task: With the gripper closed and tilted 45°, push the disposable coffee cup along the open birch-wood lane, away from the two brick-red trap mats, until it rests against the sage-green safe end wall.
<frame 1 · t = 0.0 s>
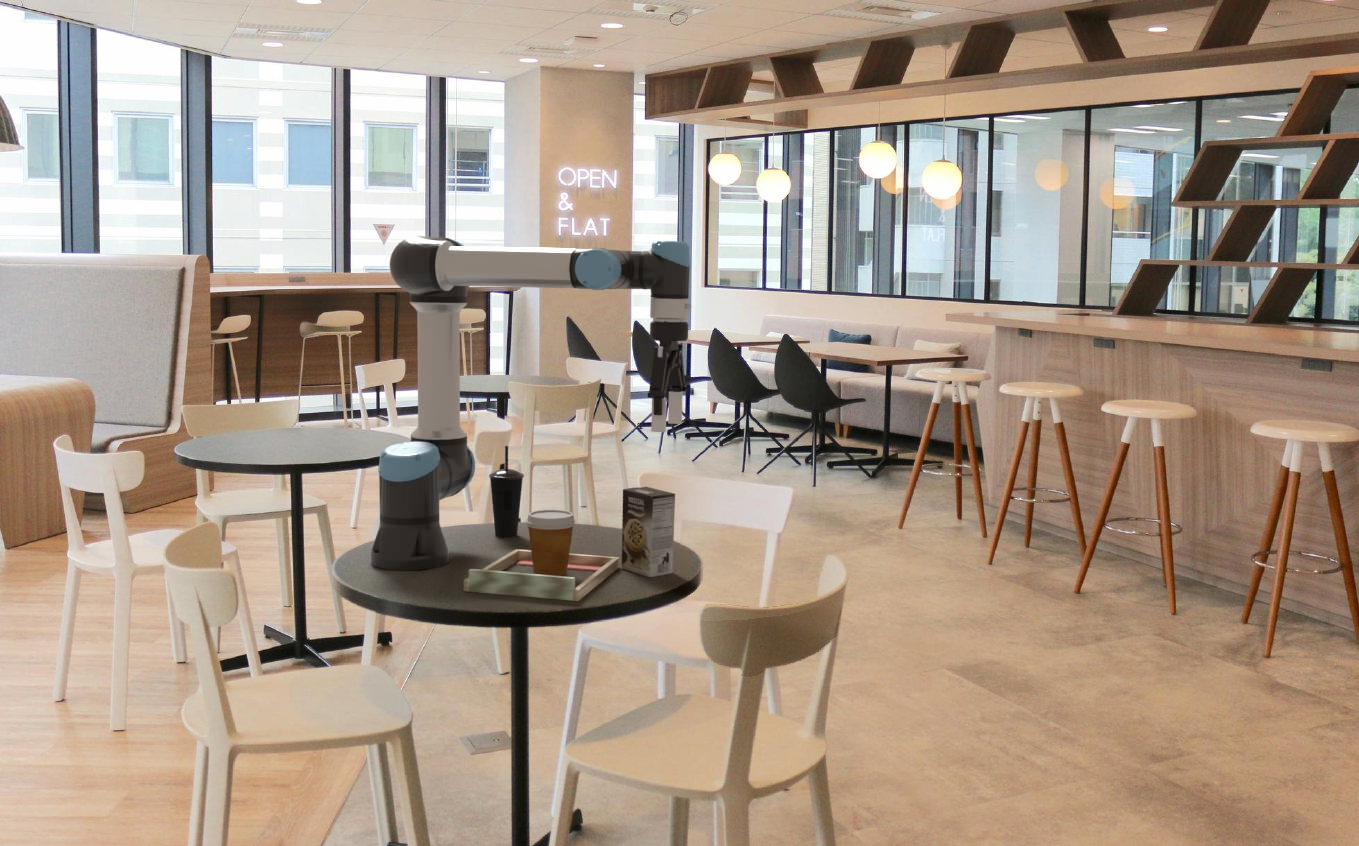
hand: (667, 427, 235), 28 cm above the table, tool pointing down, fingers open, 13 cm apart
coffee box: (647, 571, 234), on the table
disposable coffee cup: (550, 575, 229), resting in light wooden rectangular frame
trap mats: (562, 565, 236), resting in light wooden rectangular frame
drinking cup: (506, 536, 263), on the table
light wooden rectangular frame: (544, 578, 226), on the table
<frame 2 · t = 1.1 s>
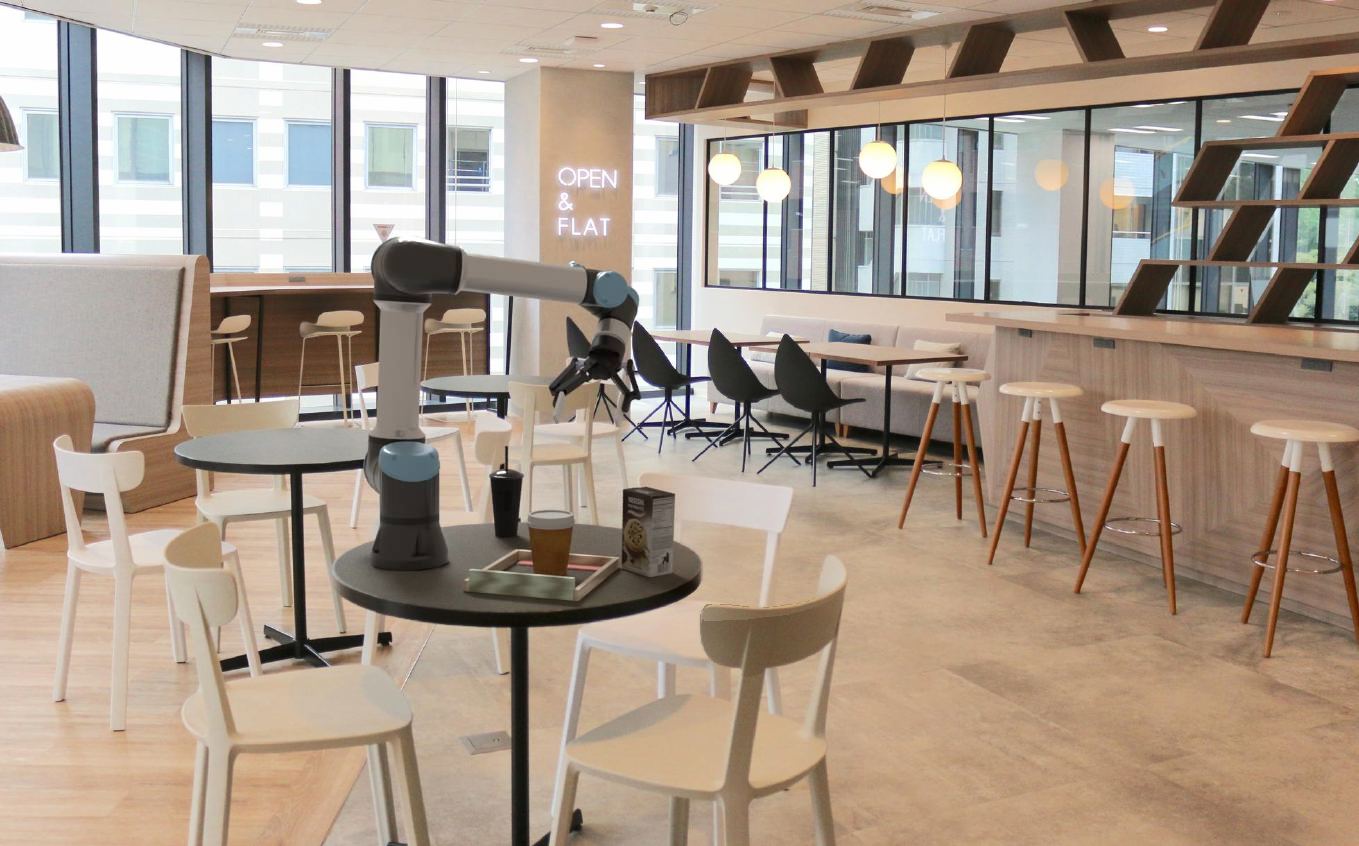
hand: (585, 421, 245), 28 cm above the table, tool tilted 45°, fingers open, 13 cm apart
nothing on the table moved.
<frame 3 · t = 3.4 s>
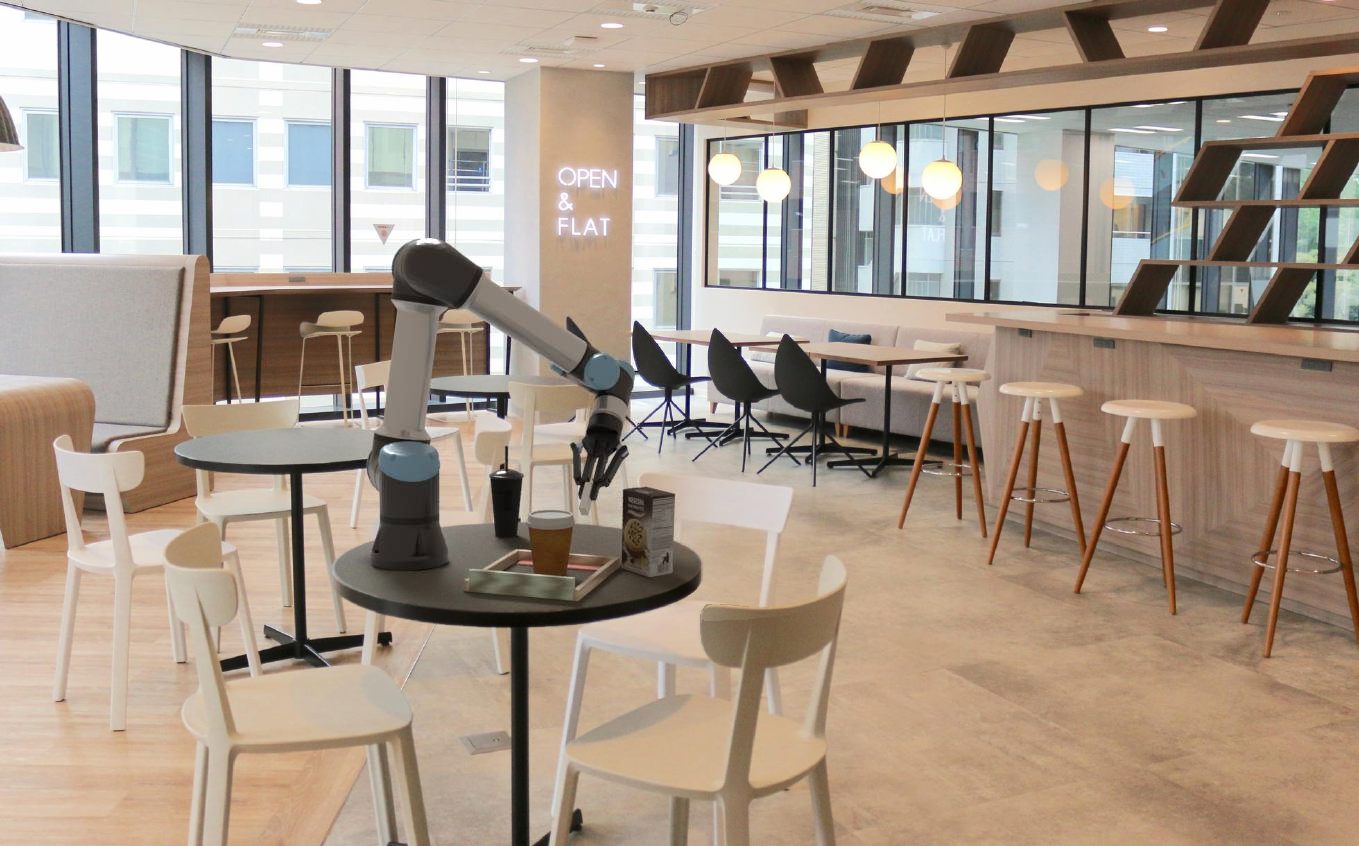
hand: (583, 511, 243), 9 cm above the table, tool tilted 45°, fingers closed
nothing on the table moved.
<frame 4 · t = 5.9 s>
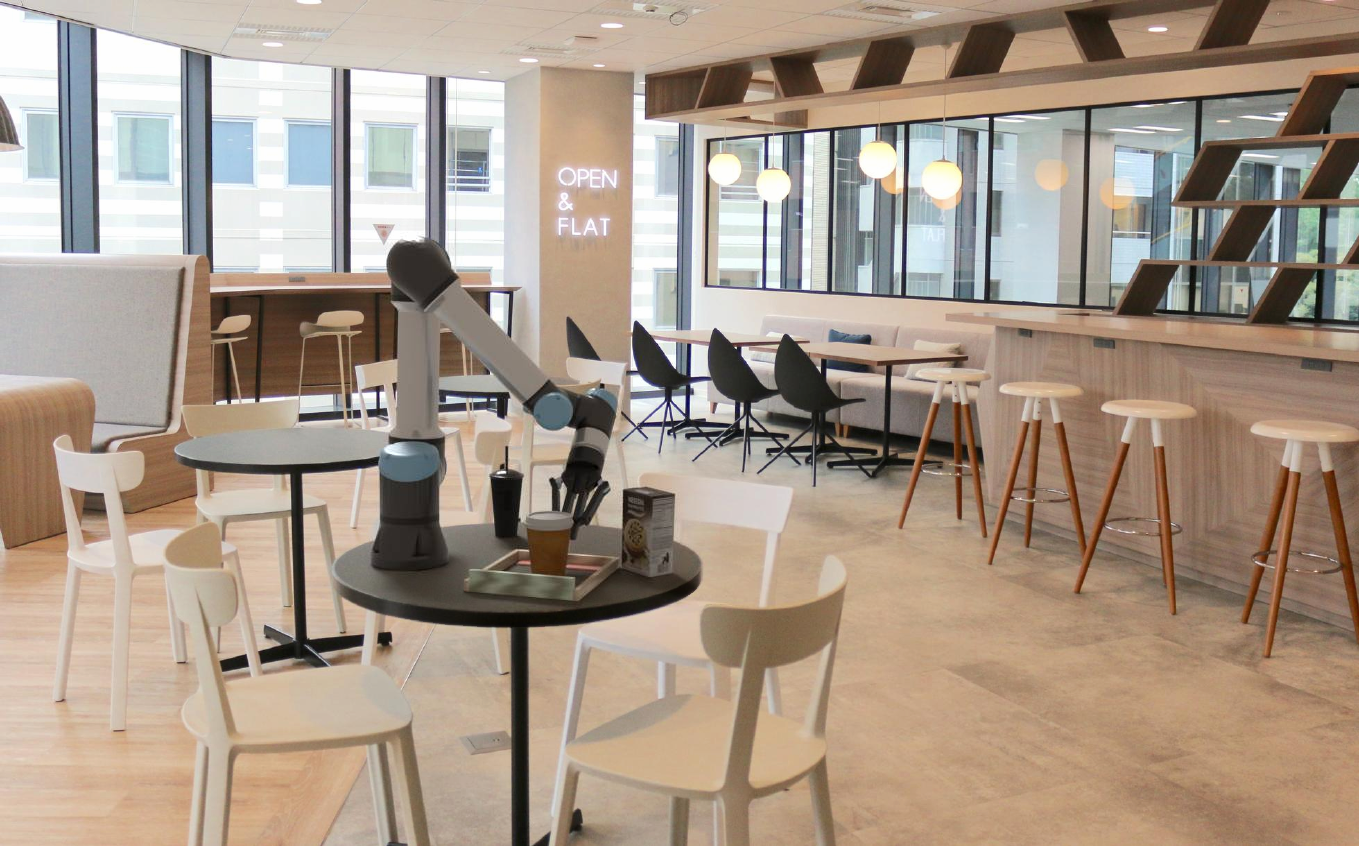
hand: (562, 552, 232), 4 cm above the table, tool tilted 45°, fingers closed
disposable coffee cup: (548, 577, 228), resting in light wooden rectangular frame, touching gripper
everything else where it was.
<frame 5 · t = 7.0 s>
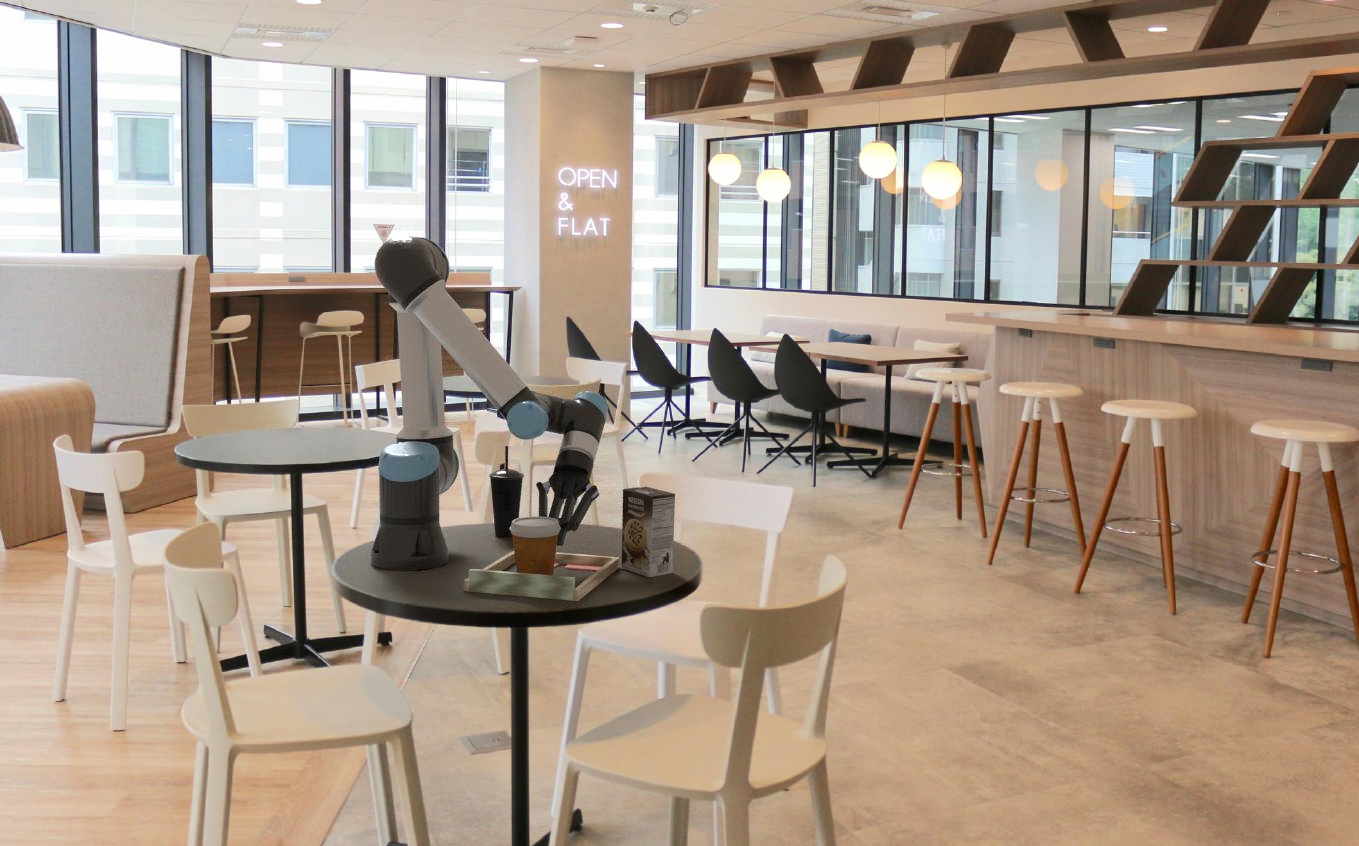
hand: (548, 558, 226), 4 cm above the table, tool tilted 45°, fingers closed
disposable coffee cup: (535, 584, 222), resting in light wooden rectangular frame, touching gripper
everything else where it was.
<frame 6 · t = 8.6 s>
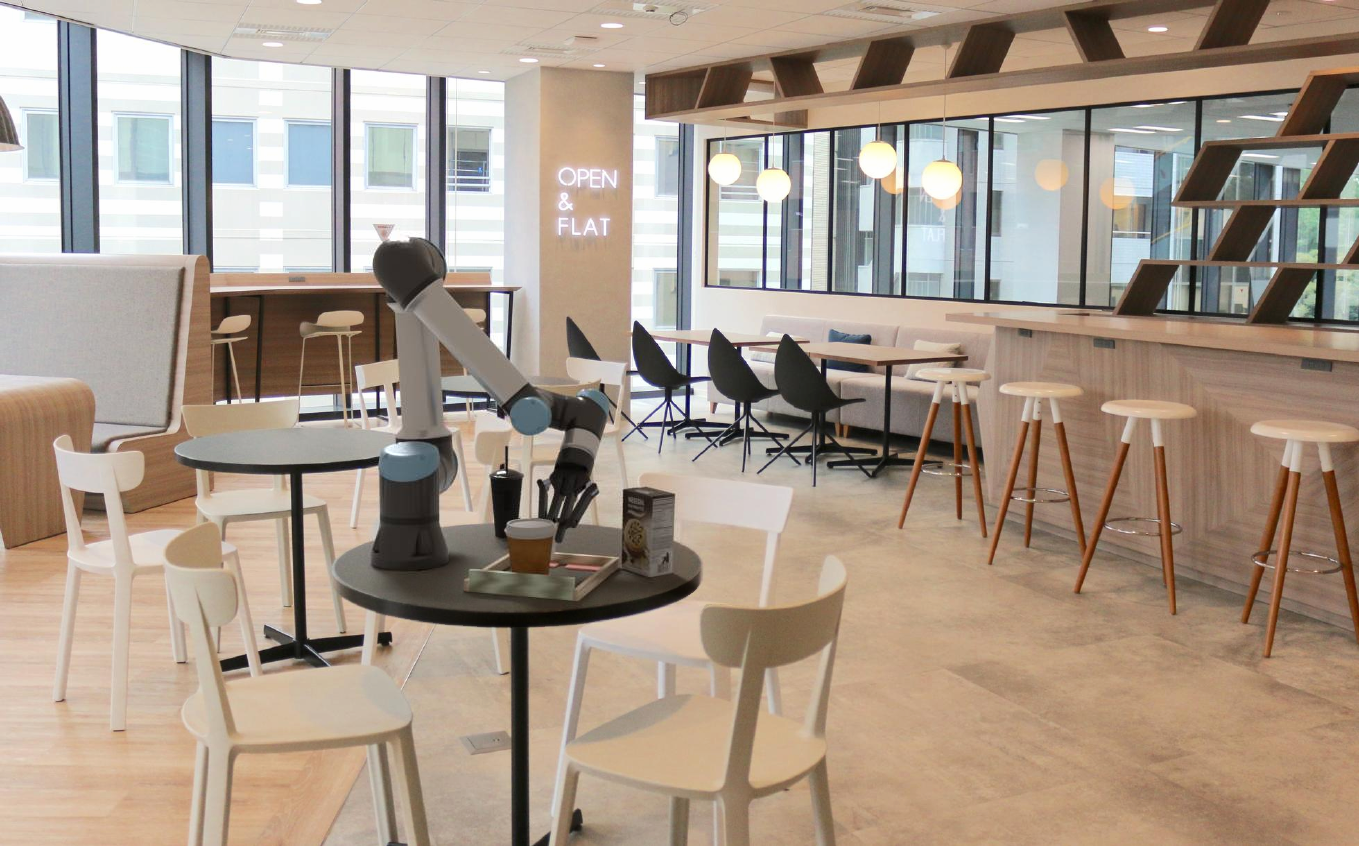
hand: (547, 555, 226), 4 cm above the table, tool tilted 45°, fingers closed
disposable coffee cup: (530, 587, 220), resting in light wooden rectangular frame
everything else where it was.
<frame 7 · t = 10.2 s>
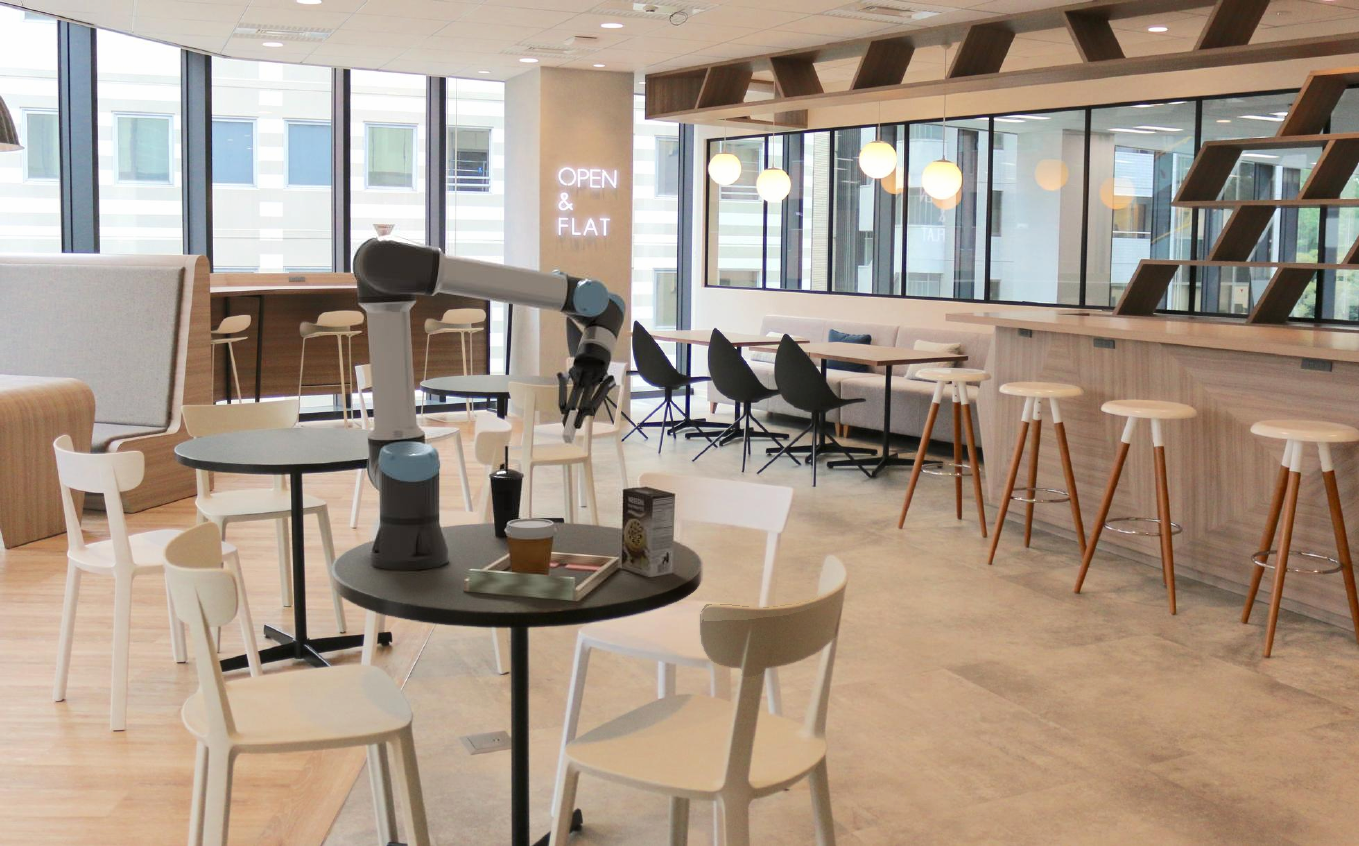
hand: (567, 439, 240), 25 cm above the table, tool tilted 45°, fingers closed
nothing on the table moved.
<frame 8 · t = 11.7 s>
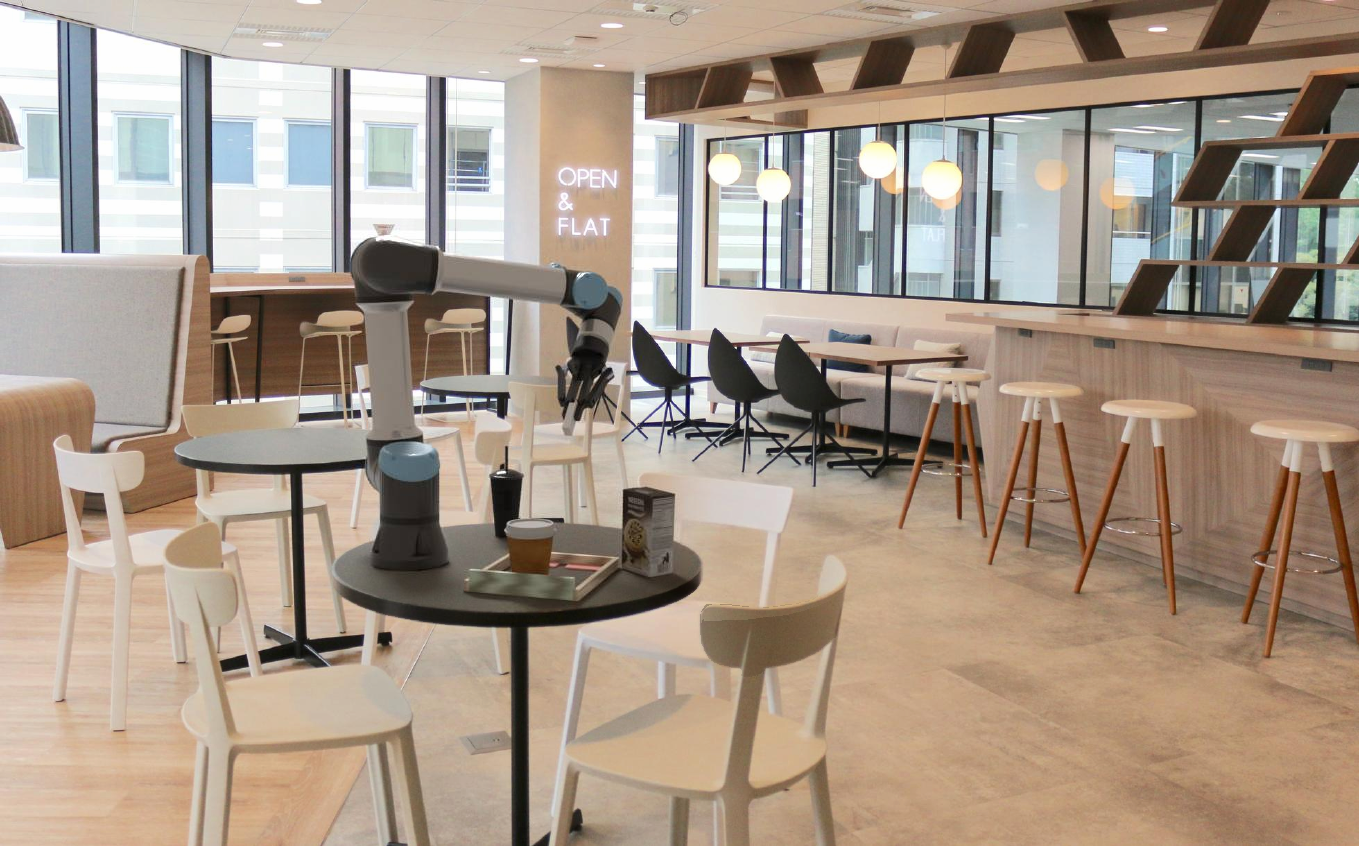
hand: (566, 431, 241), 26 cm above the table, tool tilted 45°, fingers closed
nothing on the table moved.
at the end: disposable coffee cup inside the target area (0.8 cm from its centre), resting in light wooden rectangular frame; disposable coffee cup tilted 0° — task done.
